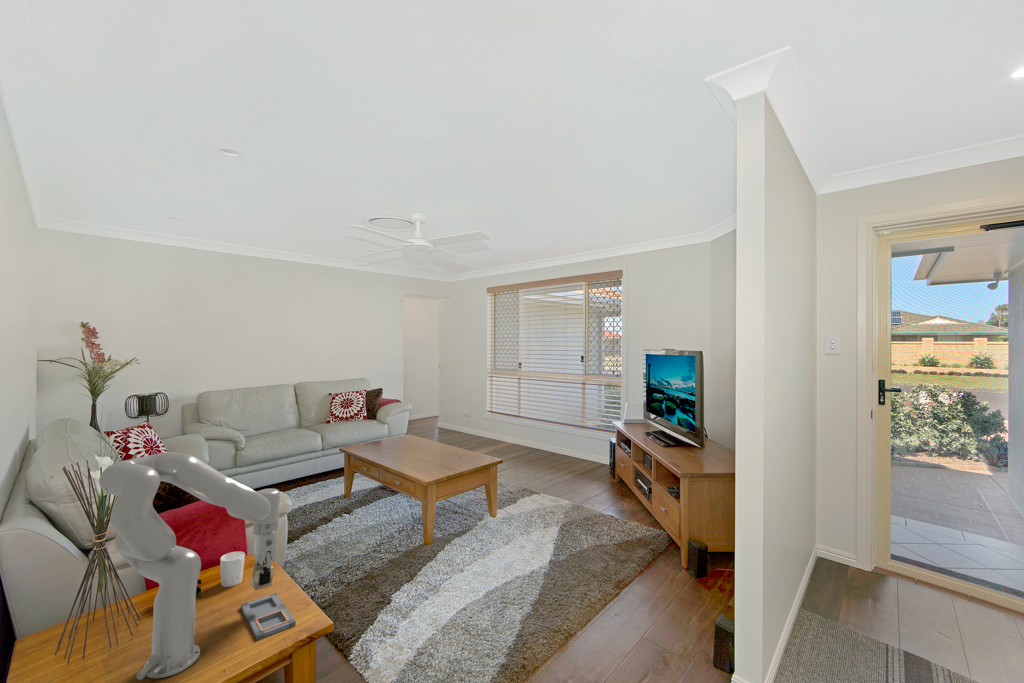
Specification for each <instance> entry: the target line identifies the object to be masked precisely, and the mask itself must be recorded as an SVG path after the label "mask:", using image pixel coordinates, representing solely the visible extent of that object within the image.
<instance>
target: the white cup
mask: <svg viewBox="0 0 1024 683" xmlns="http://www.w3.org/2000/svg"><path fill="white" fill-rule="evenodd" d="M245 557H246V553H245V552H244V551H231V552H227V553H226V554H223V555H221V557H220V558H219V559H220V560H219V561H220V566H219V567H220V580H221V581H220V586H221V587H222V588H229V587H230V588H231V587H234V586H237V585H239V584H240V583H241V582H243V575H244V570H245V569H244V567H245Z"/></svg>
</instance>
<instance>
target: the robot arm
mask: <svg viewBox="0 0 1024 683" xmlns="http://www.w3.org/2000/svg"><path fill="white" fill-rule="evenodd" d="M161 482H164V483H167V484H171V485H173V486H176V487H177V488H180V489H182V490H183V491H185V492H187V493H189V494H191V495H192V496H194V497H196V498H198V499H199V500H201V501H203V502H205V503H208V504H209V505H210V504H211V505H215V506H218V507H221V508H225V509H226V513H227V514H228V515H230V516H231V517H233V518H235V519H240V520H244V521H248V522H252V523H253V525H252V534H253V535H254V542H253V543H254V544H253V556H254V558H255V566H258V565H261V573H260V576H259V585H260V586H261V585H264V584H268V583H270V573H271V566H272V563H273V562H276V561H277V533H276V532H277V531H278V529H279V516H280V514H279V513H280V500H281V499H280V497H281V492H280V490H279V489H277V488H264V489H260V490H258V491H256V490H254V489H252V488H250V487H249V486H246V485H245V484H242V483H241V482H239V481H236V480H235V479H233V478H231V477H229V476H226V475H225V474H223V473H222V472H221V471H218V470H217V469H215V468H214V467H212V466H210V465H209V464H208V463H206V462H205V461H203V460H201V459H199V458H198V457H196V456H194V455H191V454H187V453H182V452H177V451H176V452H175V451H165V452H160V453H155V454H150V455H146V456H140V457H135V458H130V459H125V460H121V461H117V462H114V463H113V464H111V465H108V466H107V467H106V468H105V469H104V470H103V471H102V472H101V474H100V476H99V478H98V484H99V487H100V488H101V490H102V491H104V492H105V493H107V494H110V495H114V496H117V497H116V499H115V501H114V503H113V505H112V507H111V508H112V509H111V511H110V518H109V521H110V524H111V527H112V528H113V530H114V531H115V532H116V536H115V540H114V546H115V549H116V551H117V553H118V554H119V555H120V556H121V557H122V558H123V560H125V561H126V562H127V563H128V564H129V565H130V566H131V567H132V568H133V569H134V570H135V571H136V572H137V573H138V574H139V575H141V576H142V577H144V578H146V579H148V580H150V581H154V582H155V583H158V585H159V586H158V587H159V588H158V591H157V593H156V595H155V598H154V602H153V607H152V608H153V611H152V613H153V617H152V637H151V656H149V657H148V660H147V661H146V662H145V664H144V666H143V668H142V669H141V670H140V671H139V672H138V673H136V675H135V676H136V677H135V678H136V679H137V680H138V681H140V680H143V679H144V678H146V677H147V678H149V679H163V678H168V677H171V676H173V675H176V674H179V673H181V672H184V671H185V670H186V669H188V668H189V667H191V666H192V665H194V663H196V661H197V660H198V659H199V657H200V655H201V648H200V646H199V645H197V644H195V629H196V628H195V626H196V625H195V624H196V605H197V604H196V602H197V600H196V599H197V598H196V588H197V586H198V583H197V581H198V579H199V576H200V572H201V569H202V561H201V557H200V556H199V554H198V553H197V552H195V551H194V550H192V549H190V548H187V547H183V546H179V545H177V537H176V534H175V532H174V530H173V529H172V528H171V527H170V525H168V523H166V522H165V520H164V519H163V518H162V517H161V516H160V515H159V514H158V512H157V511H156V509H155V508H154V505H153V501H154V498H155V496H156V493H157V492H158V489H159V487H160V484H161ZM263 565H266V566H265V567H264V569H263Z"/></svg>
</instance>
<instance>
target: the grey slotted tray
mask: <svg viewBox="0 0 1024 683" xmlns="http://www.w3.org/2000/svg"><path fill="white" fill-rule="evenodd" d="M240 609H241V612H242V613H243V615H244V617H245V620H246V622H247V623H248V625H249V628H250V629H251V631H252V633H253V636H254V637H255V639H256V641H258V640H261V639H263V638H267V637H269V636H272V635H274V634H277V633H279V632H282V631H284V630H288V629H290V628H292V627H295V626H296V624H297V623H296V620H295V618H294V617H293V615H292V614H291V612H290V611H289V609H288V608H287V606H286V605H285V603H284V602H283V601H282V599H281V598H280V596H279V595H278V594H277V592H275V593H272V594H269V595H266V596H263V597H259V598H257V599H253V600H251V601H248V602H245V603H241V604H240Z"/></svg>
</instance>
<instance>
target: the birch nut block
mask: <svg viewBox="0 0 1024 683" xmlns="http://www.w3.org/2000/svg"><path fill="white" fill-rule="evenodd" d="M265 566H266V565H263V569H264V567H265ZM260 573H261V565H258V566H256V565H254V566H252V576H251V586H252V588H253V589H254V591H259V590H263V589H266V588H268V587H272V586H273V577H274V576H273V575H274V567H273V565H271V573H270V583H268V584H264V585H261V586H260V585H259V576H260Z"/></svg>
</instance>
